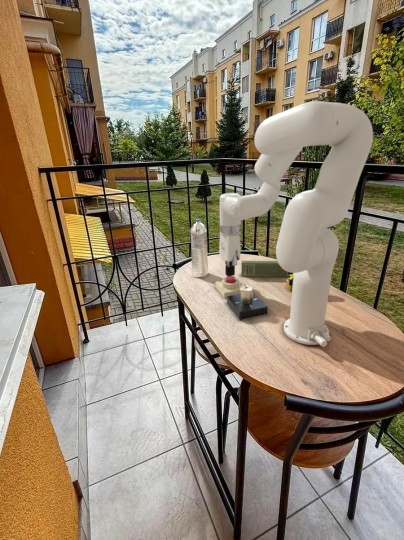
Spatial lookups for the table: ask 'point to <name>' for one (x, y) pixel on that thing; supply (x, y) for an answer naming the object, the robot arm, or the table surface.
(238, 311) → the control panel
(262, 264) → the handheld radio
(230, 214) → the robot arm
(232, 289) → the button box
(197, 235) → the water bottle
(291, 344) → the table surface
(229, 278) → the button
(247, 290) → the knob
